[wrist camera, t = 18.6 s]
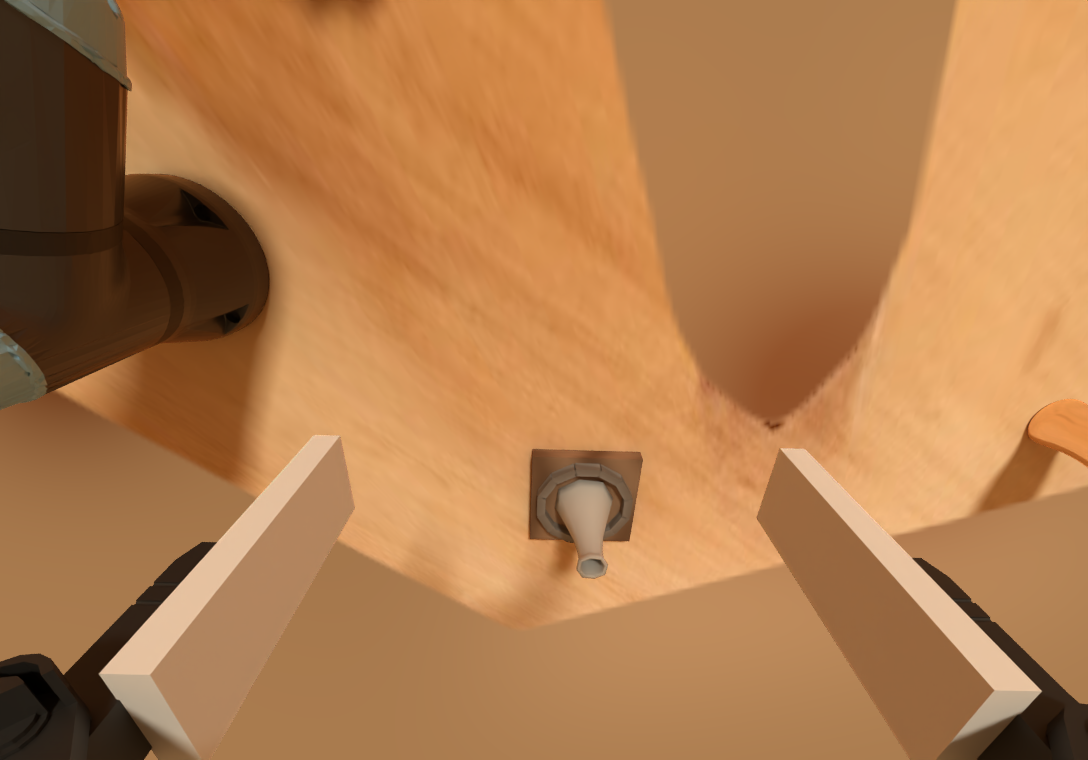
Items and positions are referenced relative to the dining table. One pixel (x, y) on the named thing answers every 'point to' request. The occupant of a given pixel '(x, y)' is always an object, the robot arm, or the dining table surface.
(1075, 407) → the beer glass
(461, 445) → the dining table surface
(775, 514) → the robot arm
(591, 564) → the flask
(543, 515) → the walnut seat board
